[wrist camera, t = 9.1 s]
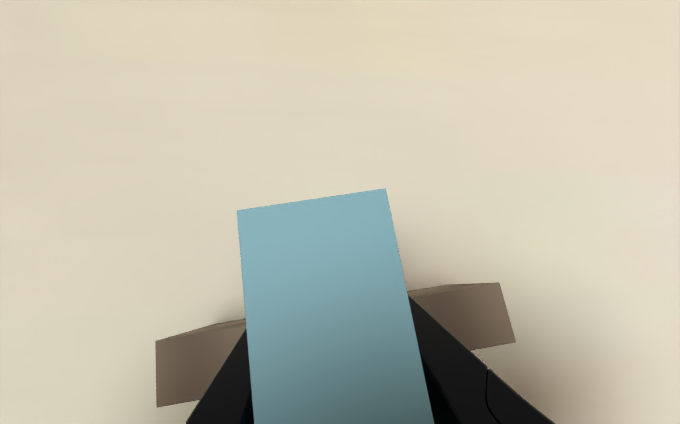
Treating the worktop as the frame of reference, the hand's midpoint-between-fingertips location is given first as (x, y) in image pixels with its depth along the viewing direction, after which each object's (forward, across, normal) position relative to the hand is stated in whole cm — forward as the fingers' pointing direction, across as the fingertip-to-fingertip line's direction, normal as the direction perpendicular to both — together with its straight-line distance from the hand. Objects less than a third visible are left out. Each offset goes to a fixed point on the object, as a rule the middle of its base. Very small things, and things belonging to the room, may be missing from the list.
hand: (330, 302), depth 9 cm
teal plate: (+4, 0, +6) cm, 7 cm away
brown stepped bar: (+4, 0, +6) cm, 7 cm away
